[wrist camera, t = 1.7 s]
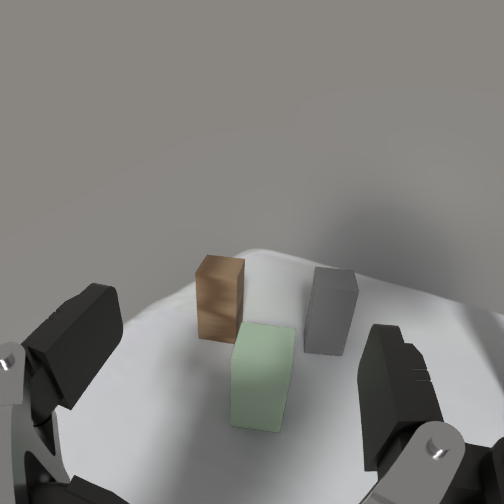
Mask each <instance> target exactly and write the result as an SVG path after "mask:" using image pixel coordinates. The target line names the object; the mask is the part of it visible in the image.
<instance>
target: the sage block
mask: <svg viewBox="0 0 504 504" xmlns="http://www.w3.org/2000/svg"><path fill="white" fill-rule="evenodd" d="M295 330H296V329H295V328H286V327H278V326H269V325H261V324H253V323H246V322H242V323H241V326H240V329H239V333H238V336H237V339H236V342H235V346H234V349H233V352H232V355H231V426H235V427H242V428H248V429H255V430H262V431H270V432H279V433H280V428H281V423H282V418H283V414H284V409H285V404H286V398H287V393H288V388H289V383H290V378H291V372H292V367H293V356H294V343H295Z"/></svg>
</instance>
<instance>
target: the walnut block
mask: <svg viewBox="0 0 504 504" xmlns="http://www.w3.org/2000/svg"><path fill="white" fill-rule="evenodd" d="M244 267H245V259H240V258H231V257H222V256H213V255H207V256H206V257H205V259H204V260H203V262H202V263H201V265H200V266H199V268H198V269H197V271H196V273H195V277H196V299H197V317H198V334H199V338H200V339H206V340H212V341H219V342H225V343H232V344H235V342H236V339H237V336H238V333H239V329H240V326H241V323H242V318H243V292H244Z"/></svg>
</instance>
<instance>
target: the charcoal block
mask: <svg viewBox="0 0 504 504" xmlns="http://www.w3.org/2000/svg"><path fill="white" fill-rule="evenodd" d="M358 293H359V290H358V286H357V282H356V278H355V274H354V271H350V270H341V269H331V268H322V267H315V273H314V279H313V285H312V292H311V298H310V304H309V310H308V316H307V322H306V327H305V346H304V353H314V354H325V355H337V356H342V353H343V350H344V346H345V343H346V339H347V336H348V332H349V328H350V325H351V321H352V317H353V313H354V309H355V305H356V301H357V297H358Z"/></svg>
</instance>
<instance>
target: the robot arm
mask: <svg viewBox="0 0 504 504" xmlns="http://www.w3.org/2000/svg"><path fill="white" fill-rule="evenodd" d="M122 335H123V323H122V318H121V313H120V307H119V302H118V296H117V292H116V289H115V288H114V287H112V286H106V285H102V284H96V283H92V284H90V285H89V286H88V287H87V288H86V289H85V290H84V291H82V292H81V293H80V294H79V295H77V296H75V297H73V298H71V299H69V300H67V301H65V302H64V303H63V304H62V305H61V306H60V307H59V308H58V309H57V310H56V312H53V313H52V314H51V315H50V316H49V319H46V320H45V321H44V322H43V323H42V324H41V325H40V326H39V327H38V328H37V329H36V330H35V331H34V332H33V333H32V334H31V335H30V336H29V337H28V338H27V339H26V340H25V341H24V342H23V343H22V344H18V343H13V342H9V343H4V344H1V345H0V504H129V503H128V502H126V501H125V500H123V499H122V498H120V497H119V496H117V495H116V494H115V493H113V492H111V491H109V490H106V489H104V488H102V487H99V486H97V485H95V484H93V483H90V482H88V481H86V480H84V479H82V478H80V477H78V476H76V475H74V476H73V478H72V480H71V481H70V478H69V476H68V474H67V472H66V470H65V468H64V465H63V461H62V455H61V448H60V441H59V433H58V423H57V415H56V412H55V410H54V409H55V408H56V407H57V405H60V406H63V407H65V408H67V409H69V410H72V408H73V407H74V405H75V404H76V403H77V401H78V400H79V398H80V397H81V395H82V394H83V393H84V391H85V390H86V388H87V387H88V385H89V384H90V383H91V381H92V380H93V378H94V377H95V376H96V374H97V373H98V372H99V370H100V369H101V367H102V366H103V365H104V363H105V362H106V360H107V359H108V358H109V356H110V355H111V354H112V352H113V351H114V350H115V348H116V347H117V346H118V344H119V343H120V341H121V338H122ZM430 380H431V378H430V375H429V373H428V371H427V367H426V364H425V361H424V358H423V355H422V354H421V353H420V352H419V351H418V350H417V349H416V347H415V346H414V345H413V344H410V343H404V340H403V337H402V334H401V331H400V328H399V327H398V326H393V325H380V324H373V326H372V327H371V330H370V333H369V336H368V339H367V342H366V345H365V348H364V351H363V354H362V357H361V360H360V363H359V368H358V375H357V383H358V392H359V402H360V413H361V424H362V437H363V452H364V470H365V471H377V473H378V481H377V482H376V484H375V485H374V486H373V487H372V489H371V490H370V491H369V492H368V493H367V495H366V496H365V497H364V498H363V499H362V501H361V502H360V503H359V504H504V437H502V438H501V439H499V440H498V441H497V442H496V443H495V445H494V446H493V447H492V448H489V447H484V446H478V445H473V444H468V443H465V442H464V439H463V437H462V435H461V434H460V432H459V431H458V430H457V429H456V428H454V427H453V426H451V425H450V424H447V423H445V422H444V420H443V417H442V413H441V410H440V407H439V403H438V400H437V397H436V394H435V391H434V388H433V384H432V382H430Z"/></svg>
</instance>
